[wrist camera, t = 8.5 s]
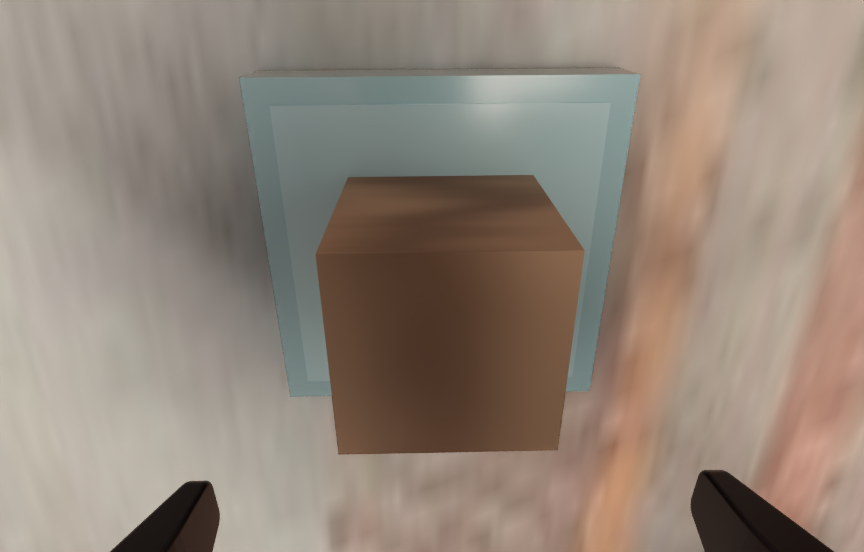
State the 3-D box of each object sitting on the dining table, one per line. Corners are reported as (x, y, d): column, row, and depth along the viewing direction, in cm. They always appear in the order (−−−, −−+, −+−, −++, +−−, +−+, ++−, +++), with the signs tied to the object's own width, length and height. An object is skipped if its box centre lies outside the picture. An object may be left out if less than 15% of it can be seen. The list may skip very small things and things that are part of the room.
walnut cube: (533, 174, 17) (584, 250, 12) (520, 331, 20) (557, 449, 15) (348, 177, 17) (315, 254, 12) (360, 333, 20) (338, 454, 14)
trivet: (617, 67, 18) (641, 74, 16) (576, 361, 23) (589, 392, 21) (257, 70, 18) (238, 78, 16) (300, 366, 23) (290, 397, 21)
